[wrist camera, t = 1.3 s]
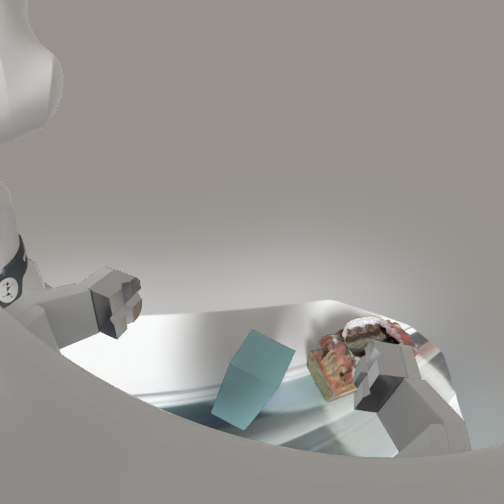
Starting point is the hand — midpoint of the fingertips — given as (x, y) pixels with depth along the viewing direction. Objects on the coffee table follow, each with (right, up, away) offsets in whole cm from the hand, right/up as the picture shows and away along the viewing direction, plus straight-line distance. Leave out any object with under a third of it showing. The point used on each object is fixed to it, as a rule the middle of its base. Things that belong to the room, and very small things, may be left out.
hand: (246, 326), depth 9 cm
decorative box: (+18, -18, +35) cm, 43 cm away
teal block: (-2, -19, +24) cm, 31 cm away
